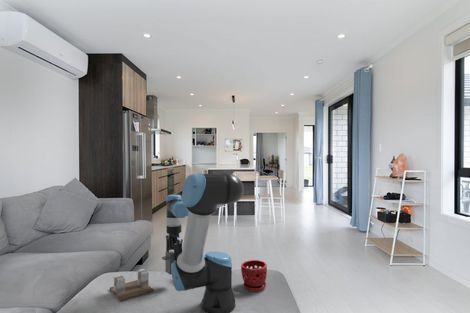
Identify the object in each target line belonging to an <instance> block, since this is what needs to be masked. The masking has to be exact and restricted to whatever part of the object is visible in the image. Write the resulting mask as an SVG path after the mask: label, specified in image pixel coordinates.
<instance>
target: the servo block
mask: <svg viewBox="0 0 470 313" xmlns="http://www.w3.org/2000/svg"><path fill="white" fill-rule="evenodd" d="M164 254H165V256H162V257H161V260H163V261H165V265H164V266H165V273H167V274H168V275H170V276H172V273H171V264H172V263H173V262H174V259H175V255H174V250H169V251H168V252H166V251H165V253H164Z"/></svg>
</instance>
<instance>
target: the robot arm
mask: <svg viewBox="0 0 470 313" xmlns="http://www.w3.org/2000/svg"><path fill="white" fill-rule="evenodd" d="M181 192H182V193H181V194H168V195H167V196H166V200H165V203H166V218H165V219H166V220H165V221H166V223H165V224H166V234H167V235H165V240H166V241H165V242H166V243H165V244H166V245H165V250H166V251H165V252H168V251H169V250H174V255H175V259H174V262H173V263H172V264H171V273H172V274H171V278H172V282H173V287H174V289H175V290H176V291H177V292H182V291H183V292H186V291H188V290H194V289H198V288H203V287H204V288H205V289H204V292H203V296H202V299H201V310H202V311H203V312H204V313H231V312H232V311H234V310H235V308H236V299H235V295H234V293H233V292H234V291H233V288H232V282H233V281H232V279H233V278H232V267H233V265H232V264H233V263H232V257H231V256H230V255H229V254H228V253H226V252H222V251H215V250H214V251H213V250H212V251H208V252H206V253H205V255H204V250H205V245H206V241H207V236H208V232H209V226H210V223H211V216H212V215H214V214H215V213H216V211H217V210H218V209H219V208H222V207H223V206H225V205H233V204H235V203H237V202H239V201H241V199H242V197H243V196H244V193H245V187H244V184H243V182H242V180H241V179H240V178H239V177H237V176H236V175H235V174H232V173H228V172H222V173H201V172H199V173H195V174H194V173H193V174H189V175H187V177H186V178H185V179H184V182H183V184H182V189H181ZM186 217H187V220H186V225H185V226H186V227H185V231H184V232H185V233H184V238H183V239H182V238H180V233H182V219H185V218H186ZM203 255H204V256H205V257H203Z"/></svg>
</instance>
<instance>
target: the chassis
mask: <svg viewBox="0 0 470 313" xmlns="http://www.w3.org/2000/svg"><path fill="white" fill-rule="evenodd" d="M109 290H110V292H111V294H112V295H114V297H116V298H117V300H118V301H119V302H125V301H128V300H131V299H134V298H138V297H140V296H143V295H147V294H150V293H153V292H154V288H153V287H152V286H150V285H149V271H148V270H146V269H145V268H141V269H137V279H136V280H132V281H129V282H126V278H125V277H124V276H123V275H122V274H117V275H114V276H113V286H109Z"/></svg>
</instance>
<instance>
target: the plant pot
mask: <svg viewBox="0 0 470 313" xmlns="http://www.w3.org/2000/svg"><path fill="white" fill-rule="evenodd" d="M267 265H268V264H267V263H266V262H265V261H263V260H259V259H258V260H257V259H250V260H245V261H244V262H242V263H241V265H240V268H241V269H240V270H241V272H240V273H241V277H242V280H243V287H244V288H245V289H246V290H248V291H251V292H259V291H262V290H264V289H265V288H266V287H267V282H266V281H267V272H268V266H267ZM251 267H252V268H251Z"/></svg>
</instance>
